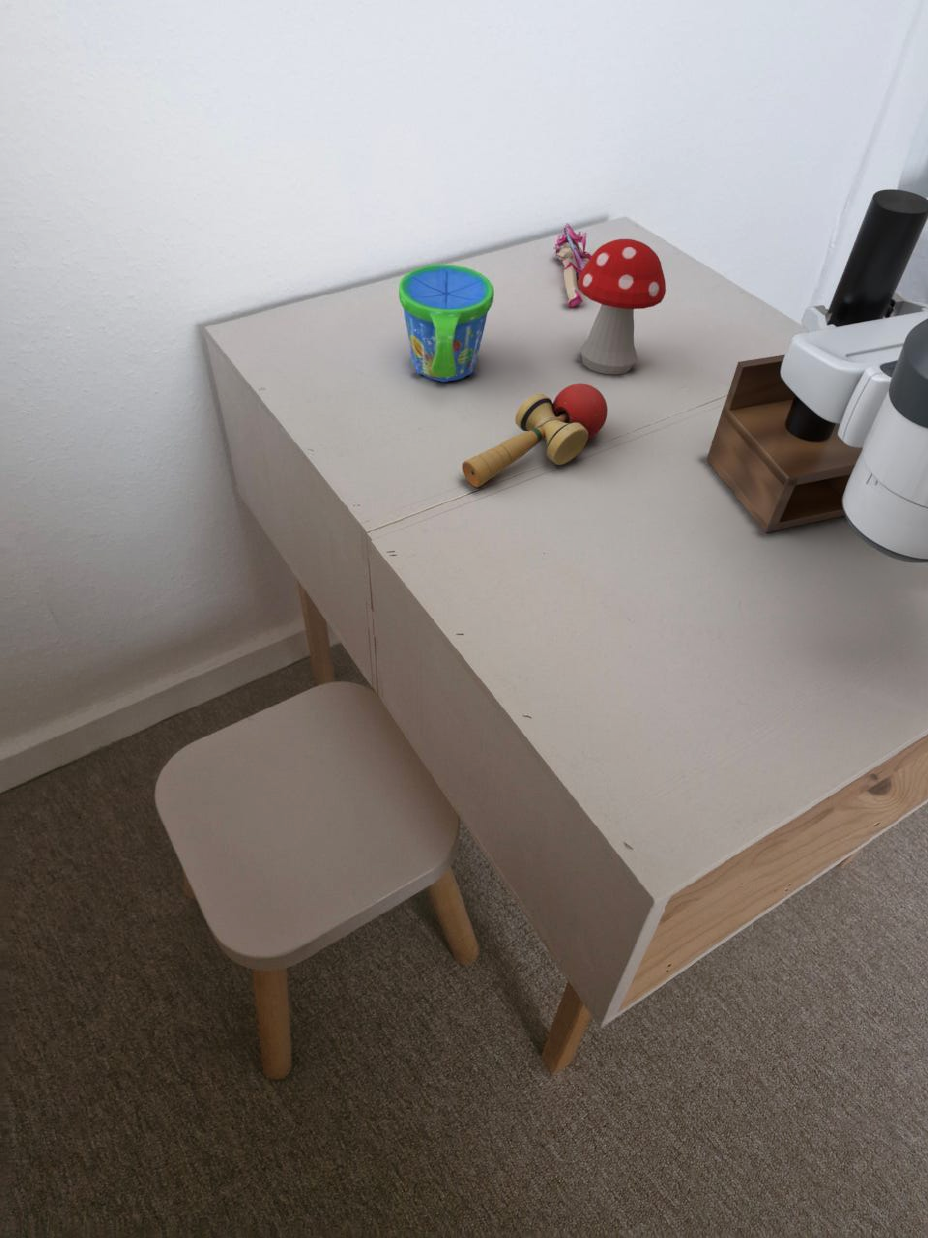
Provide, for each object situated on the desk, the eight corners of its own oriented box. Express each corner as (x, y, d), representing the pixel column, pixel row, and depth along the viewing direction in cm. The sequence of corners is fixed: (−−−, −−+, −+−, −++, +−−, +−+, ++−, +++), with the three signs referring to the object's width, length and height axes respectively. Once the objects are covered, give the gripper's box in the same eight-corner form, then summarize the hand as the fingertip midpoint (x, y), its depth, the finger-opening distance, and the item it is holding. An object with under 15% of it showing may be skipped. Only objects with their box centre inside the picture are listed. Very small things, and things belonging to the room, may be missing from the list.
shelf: (857, 512, 87) (909, 414, 78) (765, 532, 84) (807, 433, 75) (792, 443, 94) (832, 346, 85) (706, 459, 92) (737, 361, 83)
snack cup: (481, 409, 96) (487, 327, 88) (389, 399, 96) (387, 317, 89) (493, 337, 106) (499, 257, 99) (410, 328, 107) (410, 249, 99)
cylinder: (802, 445, 82) (898, 216, 66) (775, 418, 85) (861, 192, 69) (841, 437, 84) (945, 209, 67) (813, 410, 86) (906, 185, 70)
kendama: (501, 518, 86) (627, 435, 92) (491, 467, 81) (624, 384, 87) (455, 488, 91) (577, 411, 97) (443, 439, 86) (572, 361, 92)
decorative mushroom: (560, 375, 101) (579, 251, 90) (572, 338, 107) (590, 218, 95) (643, 389, 100) (673, 266, 89) (650, 351, 105) (679, 231, 94)
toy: (581, 326, 114) (561, 266, 123) (619, 303, 112) (597, 244, 121) (556, 286, 109) (537, 226, 118) (596, 261, 107) (574, 202, 116)
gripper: (1079, 338, 67) (961, 256, 75) (859, 382, 62) (760, 289, 71) (1036, 405, 72) (930, 320, 80) (829, 450, 67) (740, 355, 76)
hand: (849, 306), depth 75 cm, fingers open, 7 cm apart
